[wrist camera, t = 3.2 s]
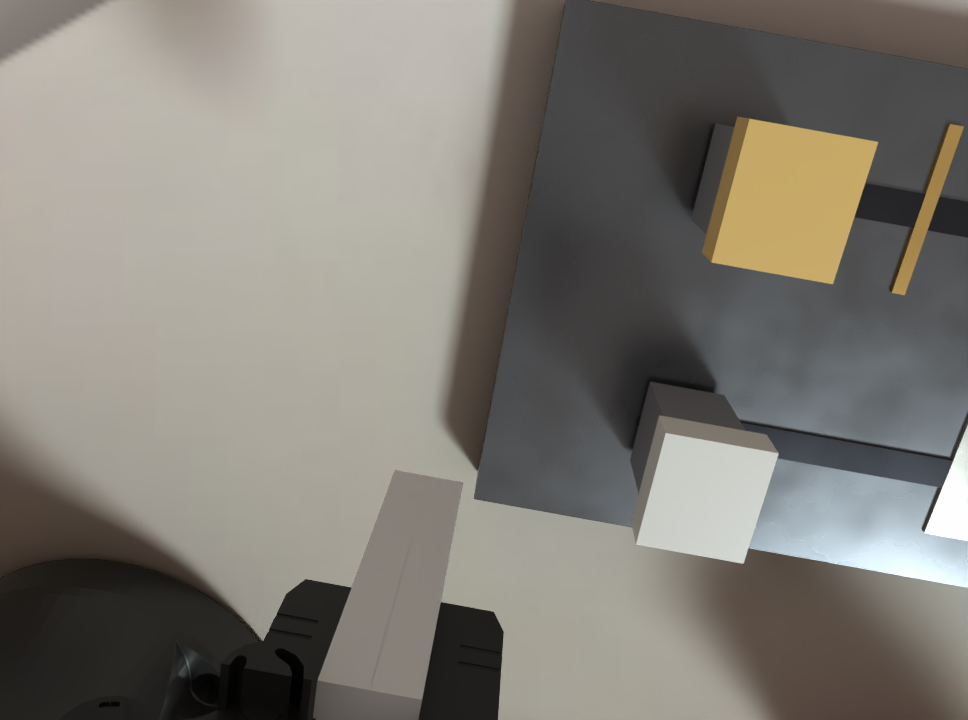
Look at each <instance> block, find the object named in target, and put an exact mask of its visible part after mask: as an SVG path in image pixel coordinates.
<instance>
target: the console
mask: <svg viewBox="0 0 968 720" xmlns="http://www.w3.org/2000/svg"><path fill="white" fill-rule="evenodd" d="M737 116H738V117H743V118H749V119H754V120H760V121H766V122H771V123H777V124H782V125H788V126H793V127H799V128H804V129H810V130H815V131H821V132H827V133H832V134H838V135H843V136H849V137H854V138H860V139H865V140H870V141H876V142H878V145H877V148H876V151H875V154H874V157H873V160H872V164H871V167H870V170H869V173H868V176H867V179H866V182H865V185H864V189H863V192H862V195H861V198H860V201H859V204H858V207H857V211H856V214H855V217H854V220H853V223H852V226H851V229H850V232H849V236H848V239H847V242H846V245H845V248H844V251H843V254H842V257H841V261H840V264H839V267H838V270H837V273H836V276H835V279H834V282H833V284H828V283H823V282H817V281H811V280H806V279H800V278H795V277H789V276H784V275H778V274H773V273H767V272H761V271H756V270H750V269H745V268H739V267H734V266H728V265H723V264H717V263H712V262H710V261H709V260H708V259H707V257H706V256H705V255H704V254H703V253H702V250H703V246H704V242H705V238H706V233H705V232H703V231H702V230H701V229H700V228H699V227H698V226H697V225H696V224H695V223H694V222H692V221H691V218H692V214H693V210H694V206H695V202H696V198H697V194H698V190H699V186H700V182H701V178H702V174H703V171H704V167H705V163H706V159H707V155H708V151H709V147H710V143H711V139H712V135H713V131H714V127H715V123H716V124H721V125H727V126H732V127H735V124H736V120H737ZM650 382H655V383H661V384H666V385H672V386H677V387H683V388H689V389H694V390H700V391H705V392H711V393H716V394H722V395H725V397H726V399H727V400H728V402H729V404H730V405H731V407H732V409H733V410H734V412H735V414H736V415H737V417H738V419H739V420H740V422H741V424H742V425H743V427H744V429H745V430H746V431H750V432H755V433H761V434H766V435H767V436H768V438H769V439H770V441H771V442H772V444H773V445H774V447H775V448H776V450H777V451H778V453H779V454H778V457H777V461H776V464H775V467H774V470H773V473H772V476H771V479H770V482H769V486H768V489H767V492H766V495H765V498H764V501H763V504H762V507H761V511H760V514H759V517H758V520H757V523H756V526H755V529H754V532H753V536H752V539H751V542H750V545H749V548H750V549H755V550H761V551H767V552H772V553H778V554H783V555H789V556H794V557H800V558H806V559H811V560H817V561H822V562H828V563H833V564H839V565H845V566H850V567H856V568H861V569H867V570H872V571H878V572H883V573H889V574H895V575H900V576H906V577H911V578H917V579H922V580H928V581H934V582H939V583H945V584H950V585H956V586H961V587H967V588H968V69H966V68H960V67H955V66H949V65H944V64H938V63H933V62H927V61H922V60H916V59H911V58H905V57H900V56H894V55H888V54H883V53H877V52H872V51H866V50H861V49H855V48H850V47H844V46H839V45H833V44H827V43H822V42H816V41H811V40H805V39H800V38H794V37H789V36H783V35H778V34H772V33H766V32H761V31H755V30H750V29H744V28H739V27H733V26H728V25H722V24H717V23H711V22H705V21H700V20H694V19H689V18H683V17H678V16H672V15H667V14H661V13H656V12H650V11H645V10H639V9H633V8H628V7H622V6H617V5H611V4H606V3H600V2H595V1H589V0H566V2H565V7H564V12H563V18H562V23H561V28H560V34H559V39H558V44H557V50H556V55H555V60H554V66H553V71H552V77H551V82H550V87H549V93H548V98H547V103H546V109H545V114H544V119H543V125H542V130H541V135H540V141H539V146H538V152H537V157H536V162H535V168H534V173H533V178H532V184H531V189H530V194H529V200H528V205H527V211H526V216H525V221H524V227H523V232H522V237H521V243H520V248H519V253H518V259H517V264H516V269H515V275H514V280H513V286H512V291H511V296H510V302H509V307H508V312H507V318H506V323H505V328H504V334H503V339H502V345H501V350H500V355H499V361H498V366H497V371H496V377H495V382H494V387H493V393H492V398H491V403H490V409H489V414H488V420H487V425H486V430H485V436H484V441H483V446H482V452H481V457H480V462H479V468H478V473H477V480H476V487H475V495H474V499H477V500H483V501H488V502H494V503H499V504H505V505H510V506H516V507H522V508H527V509H533V510H538V511H544V512H549V513H555V514H561V515H566V516H572V517H577V518H583V519H588V520H594V521H600V522H605V523H611V524H616V525H622V526H627V527H632V524H631V521H632V517H633V513H634V509H635V506H636V502H637V498H638V490H637V486H636V482H635V478H634V474H633V470H632V466H631V462H630V458H631V454H632V450H633V446H634V442H635V438H636V434H637V430H638V426H639V423H640V419H641V415H642V411H643V407H644V403H645V399H646V395H647V391H648V387H649V383H650Z"/></svg>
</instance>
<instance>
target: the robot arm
mask: <svg viewBox="0 0 968 720" xmlns="http://www.w3.org/2000/svg"><path fill="white" fill-rule="evenodd" d="M462 487H463V483H462V482H457V481H451V480H446V479H440V478H435V477H429V476H424V475H419V474H413V473H408V472H402V471H397V470H395V472H394V475H393V477H392V480H391V483H390V485H389V488H388V491H387V493H386V496H385V499H384V502H383V504H382V507H381V510H380V512H379V515H378V518H377V521H376V523H375V526H374V529H373V531H372V534H371V537H370V539H369V542H368V545H367V548H366V550H365V553H364V556H363V558H362V561H361V564H360V567H359V569H358V572H357V575H356V577H355V580H354V583H353V586H352V588H350V587H345V586H340V585H334V584H329V583H323V582H318V581H312V580H307V579H305V580H304V581H303V582H302V583H300V584H299V585H298V586H296V587H295V588H294V589H292V590H291V591H290V592H288V593H287V594H286V596H285V598H284V600H283V602H282V604H281V606H280V608H279V610H278V612H277V616H276V617H275V618H274V620H273V623H272V625H271V627H270V629H269V632H268V633H267V635H266V637H265V639H264V641H260V642H259V641H258V640H257V639H256V638H255V637H254V636H253V634H252V633H251V632H250V631H249V630H248V629H247V628H246V627H245V626H244V625H243V624H242V623H241V622H240V621H239V620H238V619H237V618H235V617H234V616H233V615H232V614H231V613H229V612H228V611H227V610H226V609H224V608H223V607H222V606H220V605H219V604H218V603H216V602H215V601H213V600H212V599H210V598H209V597H207V596H206V595H204V594H203V593H201V592H199V591H197V590H196V589H194V588H192V587H190V586H188V585H186V584H184V583H182V582H180V581H178V580H176V579H173V578H171V577H169V576H166V575H164V574H161V573H158V572H155V571H152V570H149V569H146V568H142V567H139V566H135V565H130V564H126V563H121V562H114V561H107V560H96V559H67V560H57V561H50V562H45V563H40V564H35V565H32V566H28V567H25V568H22V569H19V570H17V571H14V572H12V573H9V574H7V575H5V576H3V577H1V578H0V720H498V708H499V693H500V678H501V663H502V648H503V633H504V632H503V630H502V628H501V626H500V624H499V622H498V620H497V618H496V616H495V614H494V612H491V611H486V610H480V609H475V608H470V607H464V606H459V605H453V604H448V603H442V597H443V592H444V586H445V581H446V575H447V570H448V564H449V559H450V553H451V547H452V542H453V536H454V531H455V525H456V520H457V514H458V509H459V503H460V498H461V492H462Z"/></svg>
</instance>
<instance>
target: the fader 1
mask: <svg viewBox="0 0 968 720" xmlns="http://www.w3.org/2000/svg"><path fill="white" fill-rule="evenodd" d="M778 454H779V453H778V451H777V450H776V448H775V447H774V445H773V444H772V442H771V441H770V439H769V438H768V436H767V435H766V434H761V433H755V432H750V431H746V430H745V429H744V427H743V425H742V424H741V422H740V420H739V419H738V417H737V415H736V414H735V412H734V410H733V409H732V407H731V405H730V404H729V402H728V400H727V399H726V397H725V395H722V394H716V393H711V392H705V391H700V390H694V389H689V388H683V387H677V386H672V385H666V384H661V383H655V382H650V383H649V387H648V391H647V395H646V399H645V403H644V407H643V411H642V415H641V419H640V423H639V426H638V430H637V434H636V438H635V442H634V446H633V450H632V454H631V458H630V462H631V466H632V470H633V474H634V478H635V482H636V486H637V490H638V498H637V502H636V506H635V509H634V513H633V517H632V521H631V524H632V528H633V533H634V537H635V542H636V545H642V546H647V547H653V548H658V549H664V550H670V551H675V552H681V553H686V554H692V555H697V556H703V557H709V558H714V559H720V560H725V561H731V562H736V563H742V564H744V561H745V557H746V554H747V551H748V548H749V545H750V542H751V539H752V536H753V532H754V529H755V526H756V523H757V520H758V517H759V514H760V511H761V507H762V504H763V501H764V498H765V495H766V492H767V489H768V486H769V482H770V479H771V476H772V473H773V470H774V467H775V464H776V461H777V457H778Z"/></svg>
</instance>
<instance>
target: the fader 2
mask: <svg viewBox="0 0 968 720" xmlns="http://www.w3.org/2000/svg"><path fill="white" fill-rule="evenodd" d="M877 145H878V142H876V141H870V140H865V139H860V138H854V137H849V136H843V135H838V134H832V133H827V132H821V131H815V130H810V129H804V128H799V127H793V126H788V125H782V124H777V123H771V122H766V121H760V120H754V119H749V118H743V117H738V116H737V120H736V124H735V127H732V126H727V125H721V124H716V123H715V127H714V131H713V135H712V139H711V143H710V147H709V151H708V155H707V159H706V163H705V167H704V171H703V174H702V178H701V182H700V186H699V190H698V194H697V198H696V202H695V206H694V210H693V214H692V218H691V221H692V222H694V223H695V224H696V225H697V226H698V227H699V228H700V229H701V230H702V231H703V232H705V233H706V238H705V242H704V246H703V250H702V253H703V254H704V255H705V256H706V257H707V259H708V260H709V261H710V262H712V263H717V264H723V265H728V266H734V267H739V268H745V269H750V270H756V271H761V272H767V273H773V274H778V275H784V276H789V277H795V278H800V279H806V280H811V281H817V282H823V283H828V284H833V282H834V279H835V276H836V273H837V270H838V267H839V264H840V261H841V257H842V254H843V251H844V248H845V245H846V242H847V239H848V236H849V232H850V229H851V226H852V223H853V220H854V217H855V214H856V211H857V207H858V204H859V201H860V198H861V195H862V192H863V189H864V185H865V182H866V179H867V176H868V173H869V170H870V167H871V164H872V160H873V157H874V154H875V151H876V148H877Z"/></svg>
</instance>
